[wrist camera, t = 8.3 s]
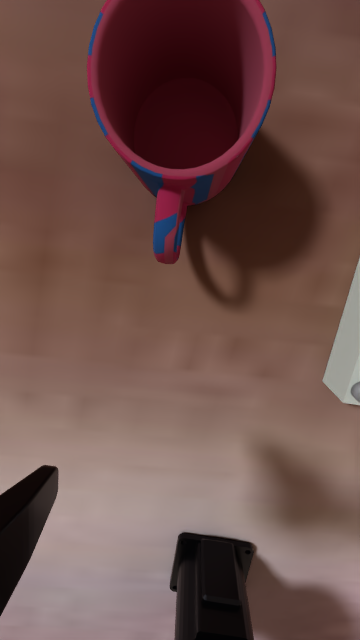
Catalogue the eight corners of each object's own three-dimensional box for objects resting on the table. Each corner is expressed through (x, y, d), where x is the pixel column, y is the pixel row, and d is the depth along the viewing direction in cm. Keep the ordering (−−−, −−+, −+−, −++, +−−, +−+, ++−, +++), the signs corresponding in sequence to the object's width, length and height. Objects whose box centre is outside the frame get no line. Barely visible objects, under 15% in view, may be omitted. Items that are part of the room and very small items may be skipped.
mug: (257, 94, 15) (305, -19, 9) (210, 269, 18) (219, 282, 11) (142, 64, 15) (103, -74, 9) (111, 244, 18) (63, 243, 11)
